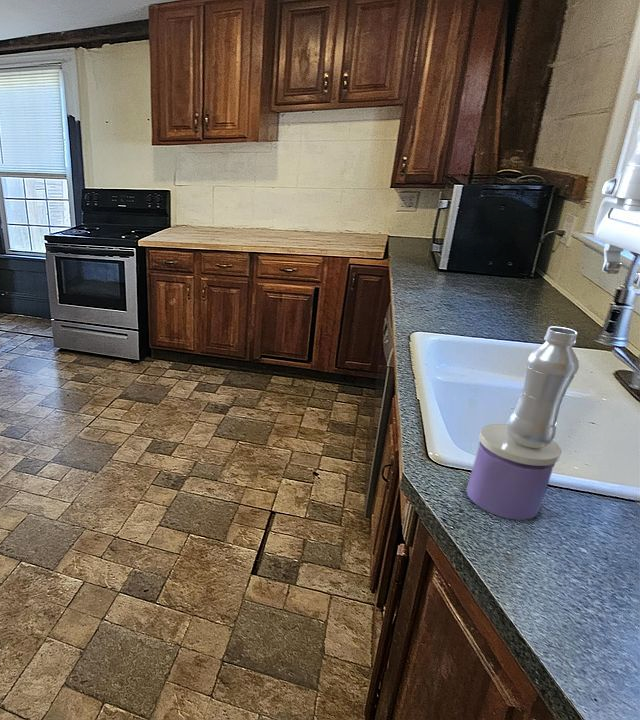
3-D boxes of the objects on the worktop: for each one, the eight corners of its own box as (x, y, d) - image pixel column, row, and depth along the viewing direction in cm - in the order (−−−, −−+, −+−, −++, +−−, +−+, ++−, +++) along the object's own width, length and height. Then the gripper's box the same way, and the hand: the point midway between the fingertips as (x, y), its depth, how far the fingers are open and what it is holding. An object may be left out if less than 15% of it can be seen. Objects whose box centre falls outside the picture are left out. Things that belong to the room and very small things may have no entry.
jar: (525, 485, 98) (544, 428, 93) (551, 526, 87) (574, 464, 83) (457, 476, 100) (472, 419, 96) (474, 514, 90) (492, 453, 85)
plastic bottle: (504, 429, 93) (536, 321, 85) (550, 440, 89) (588, 329, 82) (501, 444, 88) (535, 331, 80) (550, 458, 84) (590, 340, 77)
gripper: (734, 193, 67) (691, 298, 73) (643, 183, 86) (615, 267, 91) (675, 192, 69) (638, 294, 74) (599, 182, 87) (573, 265, 93)
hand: (624, 279), depth 83 cm, fingers open, 8 cm apart
